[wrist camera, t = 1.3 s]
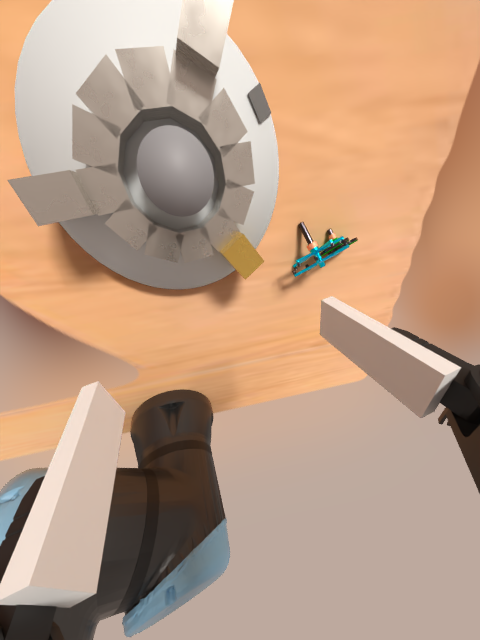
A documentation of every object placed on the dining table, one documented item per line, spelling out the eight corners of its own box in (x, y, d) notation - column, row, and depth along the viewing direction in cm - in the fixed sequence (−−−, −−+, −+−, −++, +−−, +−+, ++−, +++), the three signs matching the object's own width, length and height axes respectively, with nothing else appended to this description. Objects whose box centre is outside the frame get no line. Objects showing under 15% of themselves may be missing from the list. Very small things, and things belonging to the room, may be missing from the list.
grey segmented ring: (187, 314, 29) (190, 331, 25) (22, 191, 18) (-14, 190, 14) (303, 201, 26) (326, 201, 22) (193, -25, 15) (203, -97, 11)
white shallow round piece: (182, 316, 30) (187, 344, 25) (-41, 154, 17) (-145, 132, 11) (304, 197, 27) (341, 197, 22) (154, -119, 14) (149, -341, 8)
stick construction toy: (287, 285, 31) (325, 264, 24) (266, 245, 31) (297, 212, 24) (335, 260, 36) (379, 236, 29) (317, 225, 36) (356, 192, 29)
